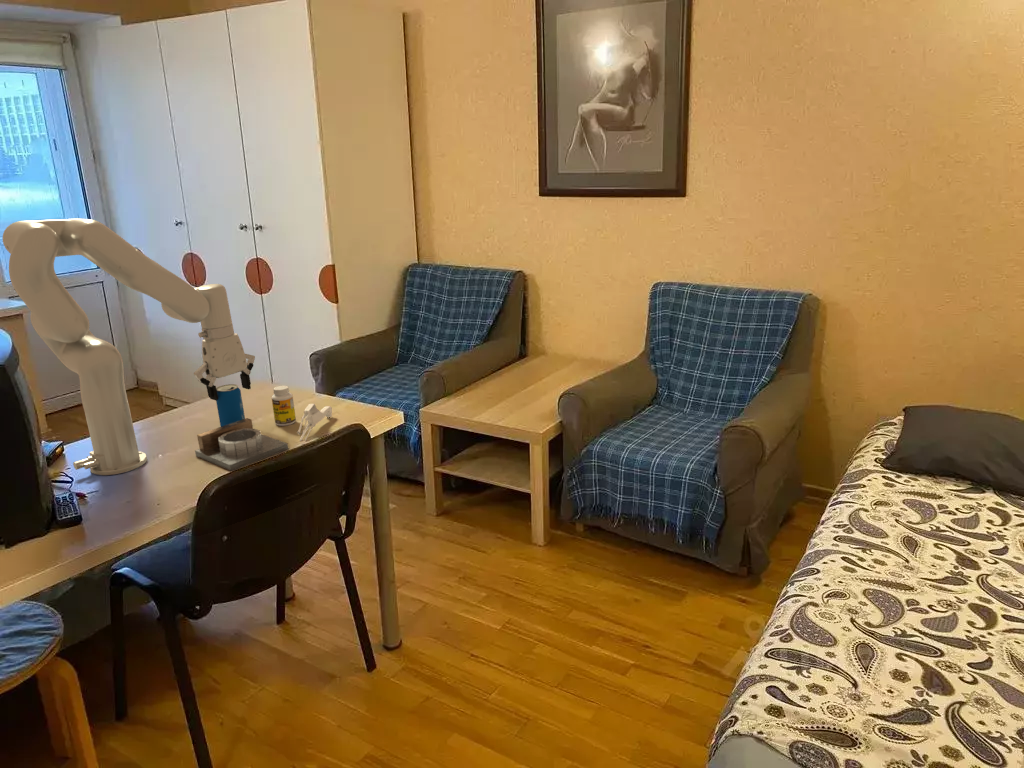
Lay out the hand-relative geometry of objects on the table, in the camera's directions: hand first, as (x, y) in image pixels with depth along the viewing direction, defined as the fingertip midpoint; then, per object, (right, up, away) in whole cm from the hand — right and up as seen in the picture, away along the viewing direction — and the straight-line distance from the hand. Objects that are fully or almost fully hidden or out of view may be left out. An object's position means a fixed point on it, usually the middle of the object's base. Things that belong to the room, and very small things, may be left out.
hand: (230, 393), depth 207 cm
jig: (+8, -14, -14) cm, 21 cm away
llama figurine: (+23, -10, 0) cm, 25 cm away
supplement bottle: (+13, -8, +6) cm, 17 cm away
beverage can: (0, -10, +3) cm, 10 cm away
